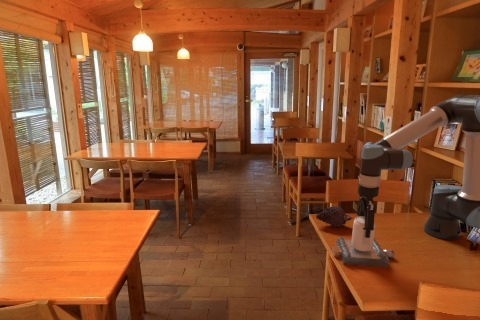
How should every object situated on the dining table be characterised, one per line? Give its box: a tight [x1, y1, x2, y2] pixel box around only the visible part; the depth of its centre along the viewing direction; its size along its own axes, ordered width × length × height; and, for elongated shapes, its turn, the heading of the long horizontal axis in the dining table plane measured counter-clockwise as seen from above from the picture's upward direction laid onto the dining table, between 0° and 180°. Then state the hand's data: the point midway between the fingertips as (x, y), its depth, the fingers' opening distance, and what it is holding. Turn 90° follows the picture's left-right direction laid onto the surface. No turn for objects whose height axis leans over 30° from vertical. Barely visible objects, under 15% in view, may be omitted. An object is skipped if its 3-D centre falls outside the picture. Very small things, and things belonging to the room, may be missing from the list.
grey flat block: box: [331, 235, 395, 268], centre depth 136 cm, size 23×15×4 cm, turn 85°
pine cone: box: [315, 205, 355, 228], centre depth 163 cm, size 18×10×10 cm, turn 88°
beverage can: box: [351, 216, 376, 251], centre depth 134 cm, size 8×8×12 cm
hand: (362, 239), depth 134 cm, fingers closed on beverage can, 8 cm apart
